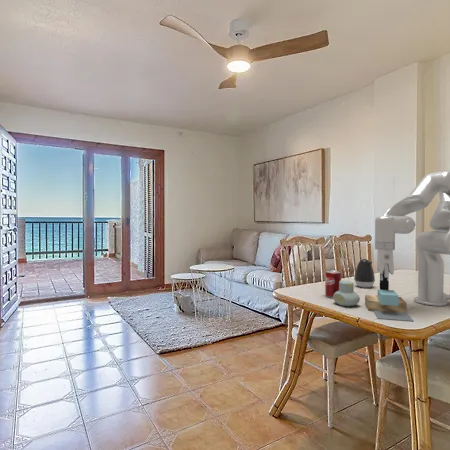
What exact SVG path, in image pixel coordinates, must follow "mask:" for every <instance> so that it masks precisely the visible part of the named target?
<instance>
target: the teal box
mask: <svg viewBox="0 0 450 450" xmlns="http://www.w3.org/2000/svg"><path fill="white" fill-rule="evenodd" d="M376 296H377V299H378V300H379V302H380V303H381V305H393V306H399V297H400V296H399V294H398V293H397V292H396V291H395V290H394V289H389V290H380V288H378V289H377V295H376Z"/></svg>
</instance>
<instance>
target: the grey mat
mask: <svg viewBox="0 0 450 450" xmlns="http://www.w3.org/2000/svg"><path fill="white" fill-rule="evenodd" d="M373 313H374V315H375V317H376V318H377V320H385V321H386V320H388V321H389V320H390V321H401V322H413V321H414V319H413V318H412V317H411V316H410V315H409V314H408V312H407V313H403V312H388V311H373Z"/></svg>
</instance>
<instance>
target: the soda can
mask: <svg viewBox="0 0 450 450" xmlns="http://www.w3.org/2000/svg"><path fill="white" fill-rule="evenodd" d="M324 275H325V276H324V279H325V282H324V284H325V285H324V286H325V287H324V289H325V291H324V293H325V294H324V296H325V297H326V298H329V299H333V295H334V293H335V292H337V291H339V282H340V281H342V272H341V271H338V270H326V271H325V273H324Z"/></svg>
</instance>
